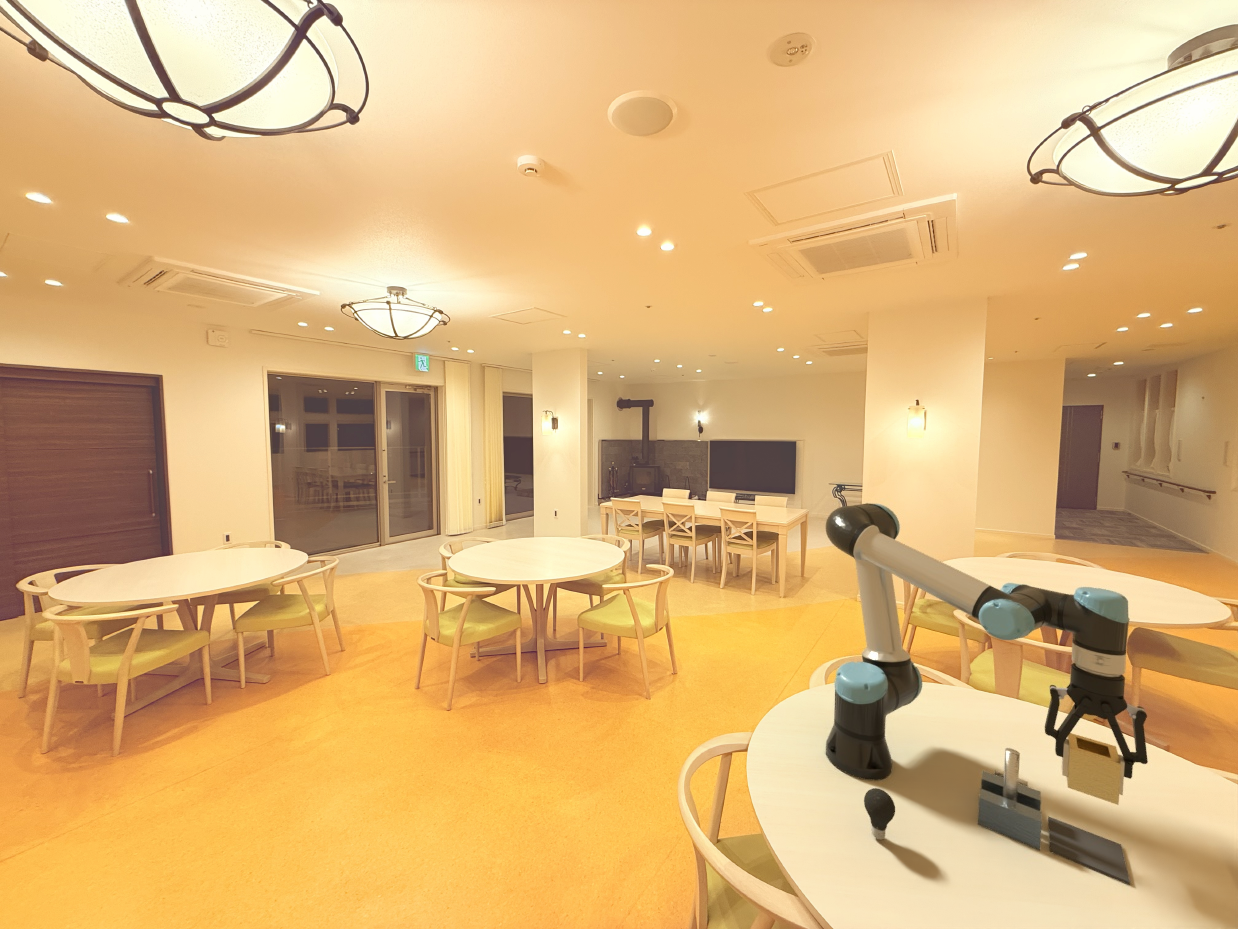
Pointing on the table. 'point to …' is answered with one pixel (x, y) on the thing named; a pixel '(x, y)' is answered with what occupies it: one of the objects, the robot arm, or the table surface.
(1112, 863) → the mat
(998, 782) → the vise
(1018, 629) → the robot arm
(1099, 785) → the open wooden box
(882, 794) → the light bulb
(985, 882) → the table surface
